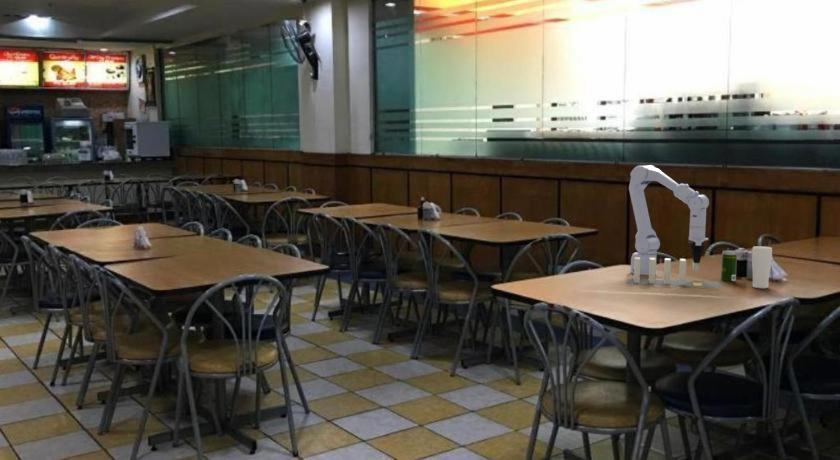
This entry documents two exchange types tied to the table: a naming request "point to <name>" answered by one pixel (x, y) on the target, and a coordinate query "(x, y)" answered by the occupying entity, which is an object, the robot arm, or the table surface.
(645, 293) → the table surface
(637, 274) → the domino
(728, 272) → the beer can
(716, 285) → the domino mat
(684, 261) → the domino
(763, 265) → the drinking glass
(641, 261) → the robot arm
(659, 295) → the table surface
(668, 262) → the domino
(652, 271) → the domino
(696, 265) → the domino
